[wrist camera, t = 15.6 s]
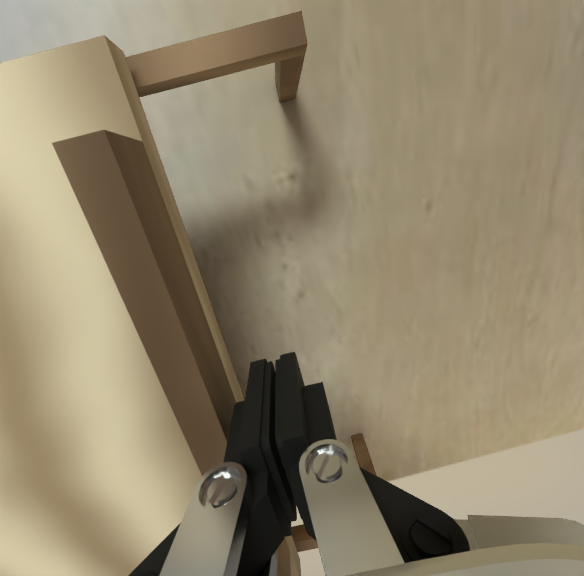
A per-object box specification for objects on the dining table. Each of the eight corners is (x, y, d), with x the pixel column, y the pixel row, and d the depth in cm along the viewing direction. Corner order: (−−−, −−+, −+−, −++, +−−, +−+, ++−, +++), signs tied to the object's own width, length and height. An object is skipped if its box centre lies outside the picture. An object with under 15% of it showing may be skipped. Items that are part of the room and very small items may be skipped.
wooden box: (291, 78, 14) (301, 11, 9) (363, 441, 22) (394, 531, 16) (-231, 213, 15) (-530, 230, 10) (11, 519, 23) (-78, 630, 17)
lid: (123, 51, 9) (47, -14, 6) (299, 559, 16) (304, 639, 13) (-357, 178, 9) (-646, 175, 6) (32, 615, 17) (-19, 704, 14)
